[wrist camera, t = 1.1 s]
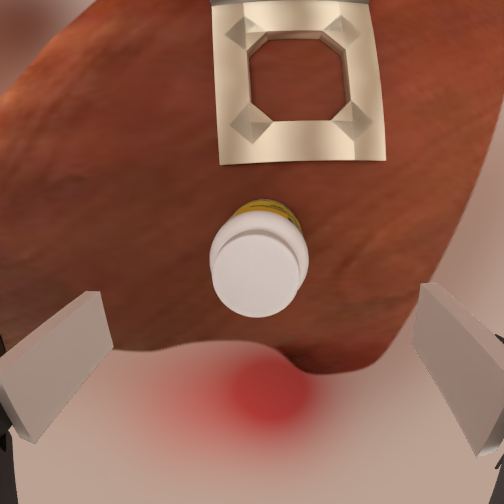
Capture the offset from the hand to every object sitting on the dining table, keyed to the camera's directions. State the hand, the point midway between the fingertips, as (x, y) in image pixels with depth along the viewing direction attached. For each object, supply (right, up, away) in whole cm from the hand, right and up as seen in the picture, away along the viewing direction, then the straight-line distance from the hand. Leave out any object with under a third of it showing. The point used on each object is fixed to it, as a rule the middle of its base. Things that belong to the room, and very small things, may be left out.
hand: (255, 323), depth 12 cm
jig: (+4, +19, +11) cm, 22 cm away
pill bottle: (+1, +4, +16) cm, 16 cm away
